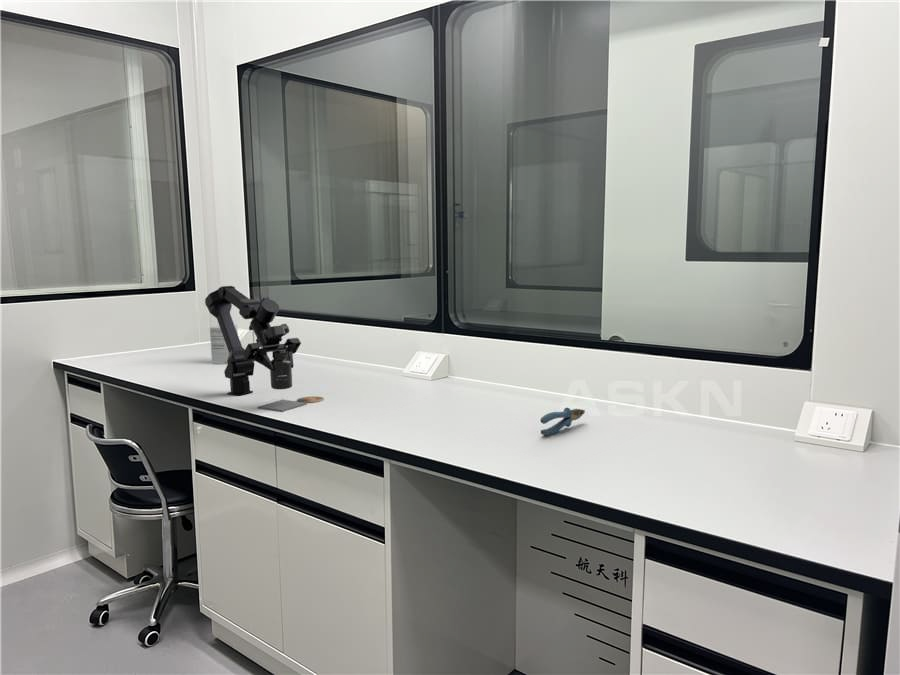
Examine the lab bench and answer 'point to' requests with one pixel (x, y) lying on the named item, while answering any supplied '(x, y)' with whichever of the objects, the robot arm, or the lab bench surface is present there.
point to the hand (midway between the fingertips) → (282, 368)
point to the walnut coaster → (310, 399)
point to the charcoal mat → (282, 405)
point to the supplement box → (219, 345)
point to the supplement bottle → (281, 370)
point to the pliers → (566, 421)
